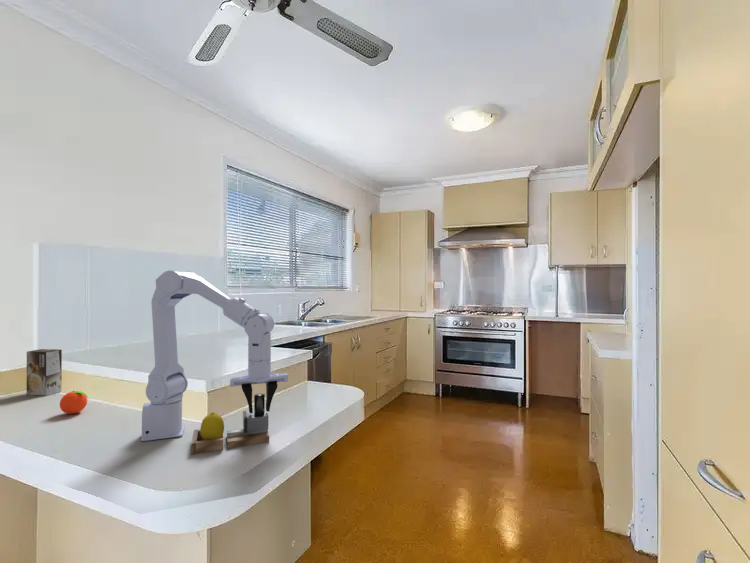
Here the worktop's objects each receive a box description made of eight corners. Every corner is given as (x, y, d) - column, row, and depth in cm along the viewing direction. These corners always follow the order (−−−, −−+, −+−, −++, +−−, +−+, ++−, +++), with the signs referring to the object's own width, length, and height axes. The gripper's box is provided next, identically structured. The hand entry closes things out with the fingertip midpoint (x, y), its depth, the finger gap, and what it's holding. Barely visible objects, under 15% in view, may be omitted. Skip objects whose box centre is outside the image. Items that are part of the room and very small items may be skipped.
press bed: (227, 447, 96) (227, 437, 96) (226, 436, 104) (226, 427, 104) (269, 442, 100) (269, 432, 100) (265, 431, 107) (265, 422, 108)
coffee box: (62, 391, 149) (63, 349, 149) (46, 396, 143) (46, 351, 143) (42, 390, 151) (42, 348, 151) (24, 394, 144) (25, 351, 144)
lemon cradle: (191, 454, 93) (191, 443, 93) (193, 439, 102) (193, 430, 102) (223, 449, 95) (223, 439, 95) (222, 436, 104) (222, 426, 104)
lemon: (215, 449, 96) (215, 416, 96) (195, 447, 97) (195, 415, 97) (228, 440, 101) (228, 409, 101) (209, 439, 102) (209, 408, 102)
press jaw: (243, 432, 99) (244, 399, 99) (242, 425, 104) (242, 393, 104) (268, 429, 101) (268, 396, 101) (266, 422, 106) (266, 391, 106)
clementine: (95, 409, 127) (96, 387, 127) (80, 417, 120) (80, 393, 120) (70, 410, 126) (70, 388, 126) (53, 417, 119) (53, 393, 120)
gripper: (230, 364, 97) (230, 419, 97) (289, 360, 102) (289, 412, 102) (229, 359, 103) (229, 411, 103) (285, 355, 109) (285, 404, 109)
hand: (259, 411), depth 103 cm, fingers open, 4 cm apart
